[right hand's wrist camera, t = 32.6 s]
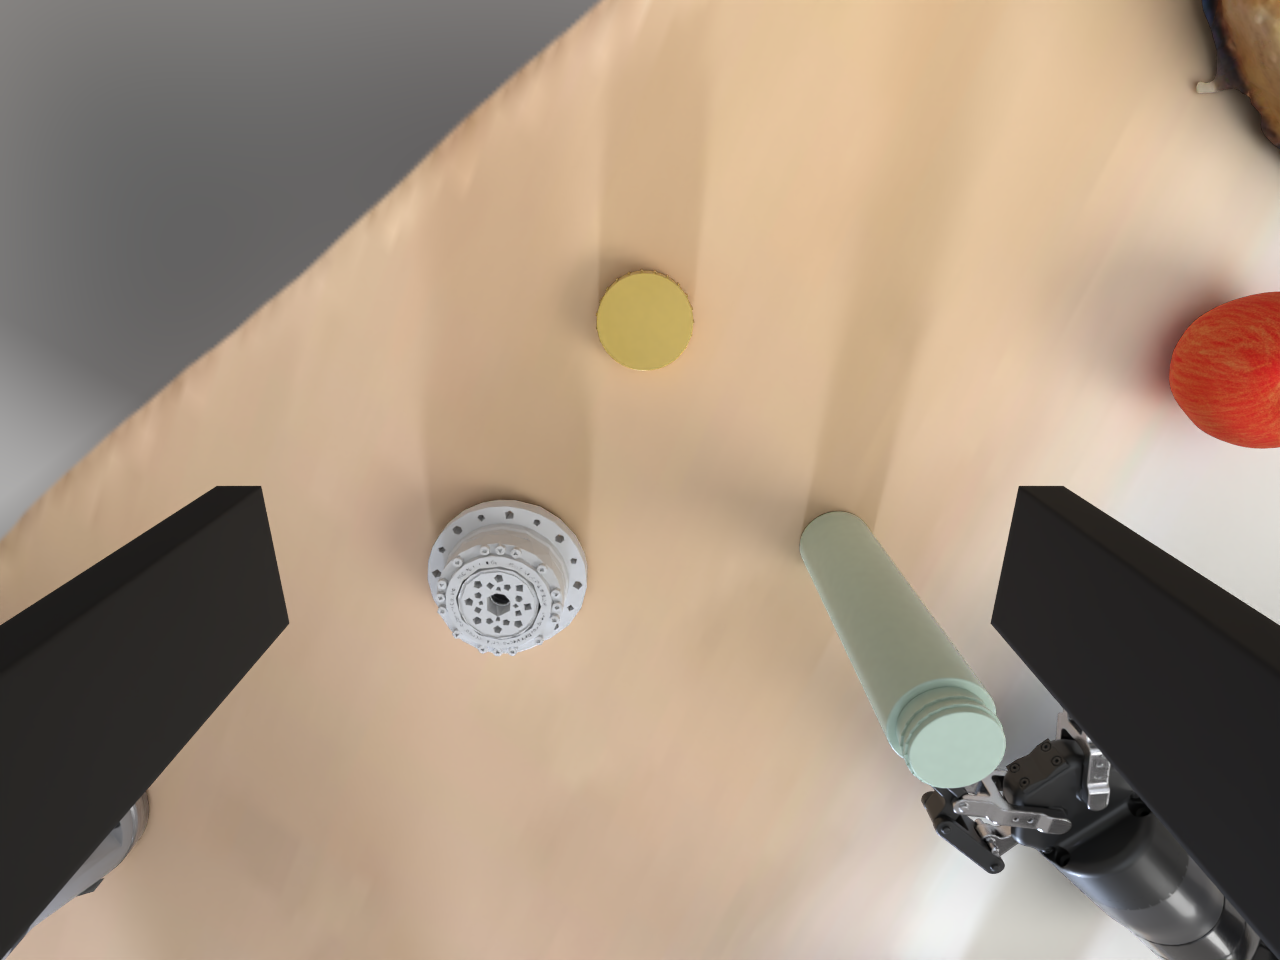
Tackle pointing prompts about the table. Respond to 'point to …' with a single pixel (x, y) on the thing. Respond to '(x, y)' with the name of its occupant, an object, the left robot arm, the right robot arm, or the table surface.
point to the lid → (644, 320)
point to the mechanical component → (507, 576)
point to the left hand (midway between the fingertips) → (976, 706)
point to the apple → (1232, 371)
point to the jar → (902, 657)
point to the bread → (1248, 55)
